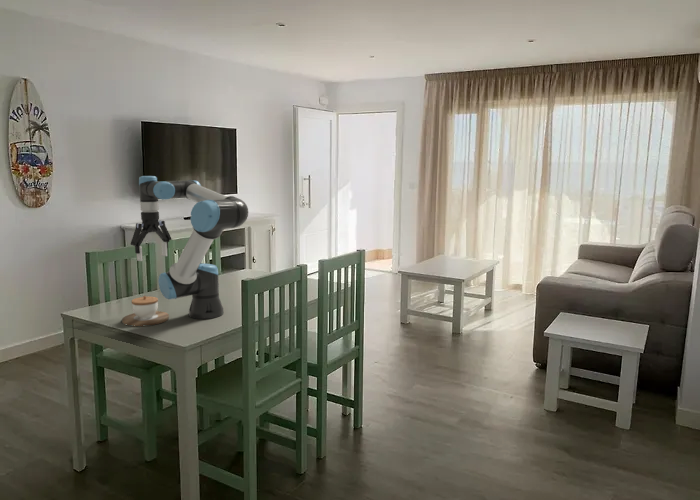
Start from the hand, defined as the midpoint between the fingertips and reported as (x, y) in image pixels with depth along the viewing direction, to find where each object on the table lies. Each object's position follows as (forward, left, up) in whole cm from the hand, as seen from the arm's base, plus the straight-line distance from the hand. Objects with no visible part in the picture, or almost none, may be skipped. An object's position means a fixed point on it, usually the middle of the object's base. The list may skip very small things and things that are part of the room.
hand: (152, 258), depth 243 cm
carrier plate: (-4, +11, -25) cm, 28 cm away
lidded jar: (-4, +11, -24) cm, 27 cm away
